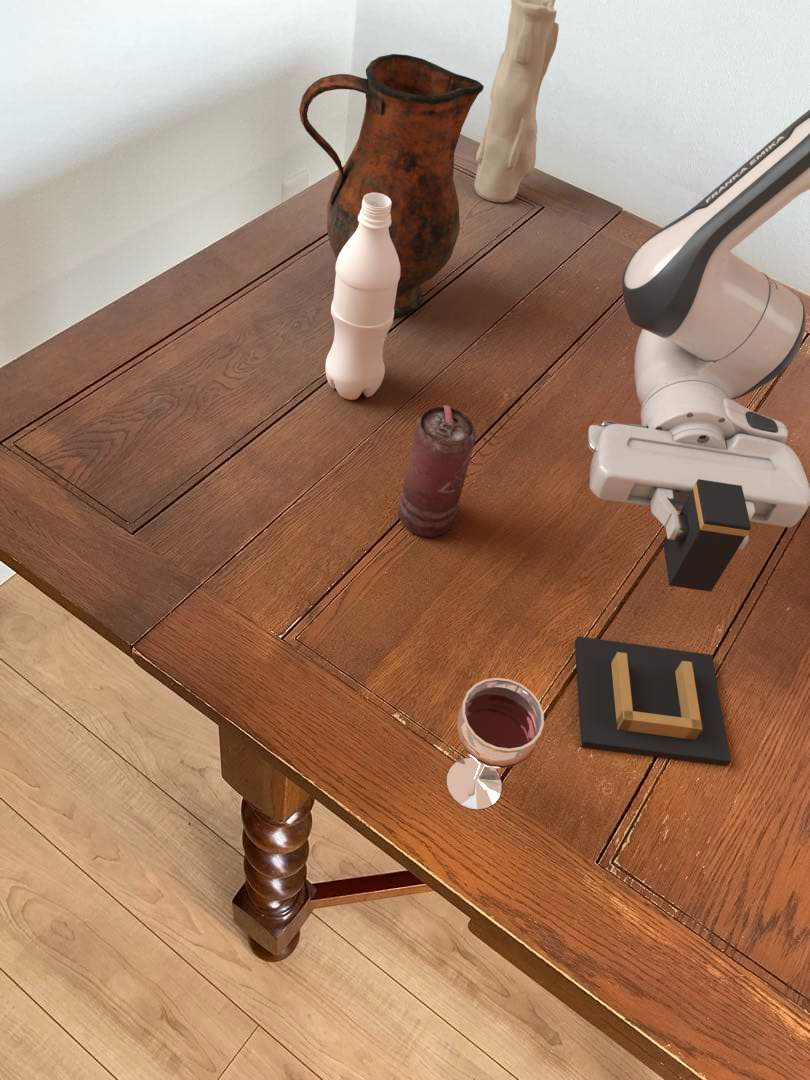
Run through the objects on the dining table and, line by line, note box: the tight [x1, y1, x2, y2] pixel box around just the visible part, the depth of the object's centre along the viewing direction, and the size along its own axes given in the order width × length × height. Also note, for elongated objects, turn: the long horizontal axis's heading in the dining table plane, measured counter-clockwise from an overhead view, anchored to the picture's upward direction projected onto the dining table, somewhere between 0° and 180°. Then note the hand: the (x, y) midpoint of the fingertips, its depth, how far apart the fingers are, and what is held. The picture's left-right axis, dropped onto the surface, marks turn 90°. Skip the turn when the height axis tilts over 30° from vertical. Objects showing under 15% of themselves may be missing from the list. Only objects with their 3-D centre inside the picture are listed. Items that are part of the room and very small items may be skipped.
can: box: [397, 404, 477, 538], centre depth 101 cm, size 6×6×14 cm
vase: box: [474, 0, 560, 203], centre depth 143 cm, size 9×8×30 cm
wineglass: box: [446, 677, 545, 810], centre depth 81 cm, size 7×7×12 cm
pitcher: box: [298, 53, 485, 318], centre depth 120 cm, size 17×21×30 cm
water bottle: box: [324, 193, 400, 401], centre depth 109 cm, size 7×7×25 cm
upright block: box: [663, 479, 752, 592], centre depth 87 cm, size 4×5×9 cm
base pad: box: [574, 636, 732, 767], centre depth 93 cm, size 14×12×3 cm
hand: (708, 540), depth 86 cm, fingers closed on upright block, 4 cm apart
